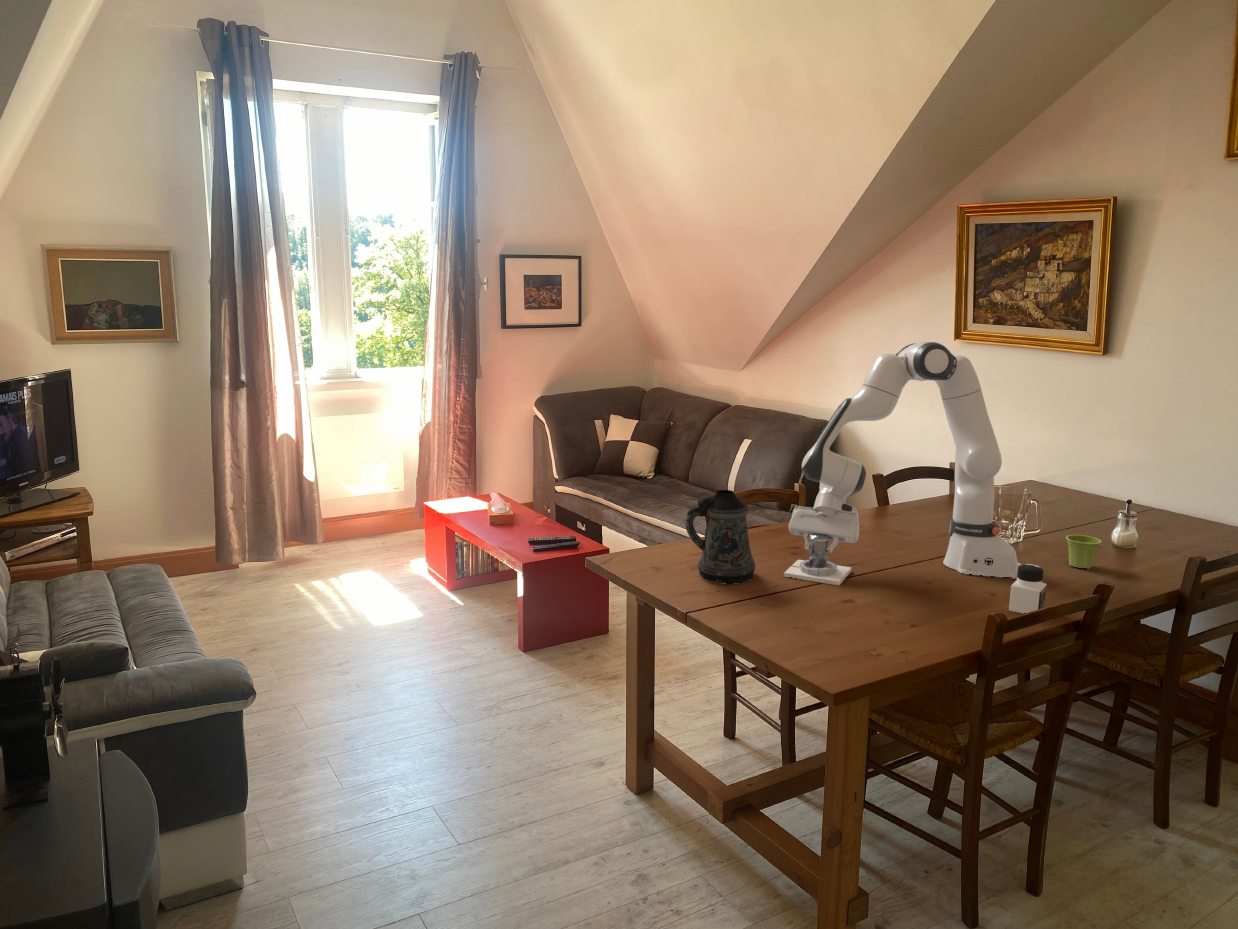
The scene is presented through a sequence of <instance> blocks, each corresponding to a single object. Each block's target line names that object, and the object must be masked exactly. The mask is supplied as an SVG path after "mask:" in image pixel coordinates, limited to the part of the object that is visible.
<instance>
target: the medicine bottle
mask: <svg viewBox="0 0 1238 929" xmlns="http://www.w3.org/2000/svg"><path fill="white" fill-rule="evenodd" d="M1043 579H1044V569H1043V568H1042V567H1041V566H1038V565H1036V564H1030V563H1026V564H1025V563H1024V564H1021V565H1020V566H1019V567H1018V573H1017V578H1016V579H1015V581H1014V582H1013V583H1012V584H1011V585H1010V596H1009V607H1008V611H1010V612H1011V613H1018V614H1022V615H1025V614H1024V613H1028V612H1031V611H1035V610H1039V609H1041V608H1044V609H1045V606H1046V605H1045V604H1046V596H1047V583H1045V582H1043Z"/></svg>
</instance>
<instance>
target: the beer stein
mask: <svg viewBox="0 0 1238 929" xmlns="http://www.w3.org/2000/svg"><path fill="white" fill-rule="evenodd" d="M748 513H749V507H748V505H747V504H746V502H744V501H743V500H742V499H740V498H739V497H738V496H737V495H736V494H735V492H734V491H733V490H729V489H721V490H717V491H715V493H714V494H713V495H711V496H705V497H702V498H699V499H698V500H697V506H693V507H692V508H690V509H689V510H687V513H686V517H685V520H684V523H685V531H686V533H687V535H688V536H689V538H690V539H691V541H692V543H694V544H695V545H696V546H697V547H698V548H699V549H700V550H701V551H702V552H701V557H700V558H699V560H698V563H697V568H698V572H699V576H700V575H701V577H703V578H704V579H706V580H709V581H713V582H716V583H715V584H717V583H726V584H725V585H735V584H734V583H741V584H744V583H743V582H746V583H748V582H750V581H752V580H753V577H754V575H755V570H756V563H755V560H754V558H753V554H752V550H751V544H750V539H749V532H748V529H749V528H748V523H747V515H748ZM696 517H700V518H701V517H703V518H704V517H707V520H706V526H705V527H706V528H705V532H704V539H703V538H701V537H700V535H699V534H698V533H697V531H696V528H695V526H694V520H695V519H696ZM701 577H700V578H701ZM704 579H703V580H704ZM751 579H752V580H751ZM706 580H705V581H706ZM749 580H750V581H749ZM709 581H708V582H709ZM747 581H748V582H747ZM713 582H712V583H713Z"/></svg>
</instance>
